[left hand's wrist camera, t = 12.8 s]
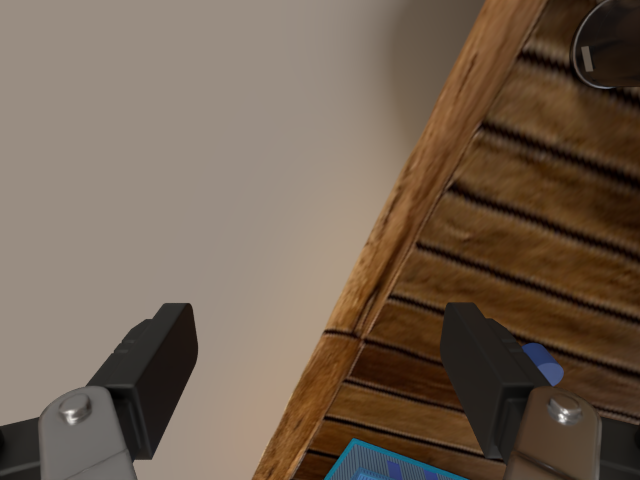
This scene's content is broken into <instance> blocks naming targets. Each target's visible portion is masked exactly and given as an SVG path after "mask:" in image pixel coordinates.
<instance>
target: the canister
mask: <svg viewBox="0 0 640 480" xmlns="http://www.w3.org/2000/svg"><path fill="white" fill-rule="evenodd" d="M522 349H523V350H524V352H526V354H527V355H528V356H529V357H530V359H531V360H532V361H533V362H534V364H535V365H536V366H537V367H538V369H539V370H540V371H541V372H542V374H543V375H544V376H545V377H546V379H547V380H548V381H549V382H550V384H551V385H552V386H554V385H556V384H557V383H559V382H560V380H561V379H562V377H563V369H562V367H561V366H560V365H559V364H558V363H557V361H556V360H555V359H554V358H553V357H552V356H551V355H550V353H549V352H548V351H547V350H546V349H545V348H544V347H543V346H542V345H540V344H538V343H529V344H526V345H524V346H522Z"/></svg>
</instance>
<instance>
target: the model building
mask: <svg viewBox="0 0 640 480" xmlns="http://www.w3.org/2000/svg"><path fill="white" fill-rule="evenodd" d="M324 480H469V479H466V478H463V477H461V476H458V475H455V474H452V473H449V472H447V471H444V470H441V469H438V468H436V467H433V466H430V465H427V464H424V463H422V462H419V461H416V460H413V459H411V458H408V457H405V456H402V455H399V454H397V453H394V452H391V451H388V450H386V449H383V448H380V447H377V446H374V445H372V444H369V443H366V442H363V441H361V440H358V439H355V438H353V439H352V440H351V442H350V443H349V445H348V446H347V447H346V449H345V450H344V452H343V453H342V454H341V456H340V457H339V459H338V460H337V462H336V463H335V464H334V466H333V467H332V469H331V470H330V471H329V473H328V474H327V476H326V477H325V479H324Z"/></svg>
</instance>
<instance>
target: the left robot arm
mask: <svg viewBox="0 0 640 480" xmlns="http://www.w3.org/2000/svg"><path fill="white" fill-rule="evenodd" d="M570 61H571V66H572V69H573V71H574V73H575V75H576V76H577V78H578V79H579V80H580V81H581V82H582V83H584V84H586V85H588V86H590V87H593V88H616V87H640V0H604V1H602V2H601V3H599V4H598V5H596V6H595V7H594V8H593V9H591V10H590V11H589V12H588V13H587V15H586V16H585V17H584V18H583V19H582V21H581V22H580V24H579V26H578V27H577V29H576V31H575V34H574V36H573V39H572V43H571V49H570ZM440 354H441V359H442V363H443V365H444V368H445V370H446V372H447V374H448V376H449V379H450V381H451V383H452V385H453V387H454V390H455V392H456V394H457V396H458V398H459V401H460V403H461V405H462V407H463V409H464V412H465V414H466V416H467V418H468V420H469V423H470V425H471V427H472V429H473V431H474V434H475V436H476V438H477V440H478V442H479V445H480V447H481V449H482V451H483V453H484V456H485V458H503V460H504V462H505V464H506V466H507V467H506V470H505V473H504V476H503V480H640V424H639V425H634V424H630V423H626V422H622V421H617V420H613V419H609V418H605V417H601V416H600V415H599V414H598V412H597V411H596V409H595V408H594V407H593V406H592V405H591V404H590V403H588V402H587V401H586V400H585V399H583V398H581V397H580V396H578V395H576V394H574V393H572V392H570V391H568V390H565V389H562V388H558V387H553V386H552V385H551V384H550V382H549V381H548V380H547V379H546V377H545V376H544V375H543V374H542V372H541V371H540V370H539V369H538V367H537V366H536V365H535V364H534V362H533V361H532V360H531V359H530V357H529V356H528V355H527V354H526V352H524V350H523V349H522V347H521V346H520V345H519V343H516V340H515V338H514V337H513V336H512V335H511V333H510V332H509V331H508V330H507V328H505V327H504V326H502V325H501V324H499V323H498V322H496V321H495V320H493V319H486V318H485V317H484V316H483V314H482V313H481V311H480V310H479V309H478V307H477V306H476V305H475V304H474V303H448V304H447V305H446V308H445V314H444V321H443V328H442V335H441V342H440ZM197 355H198V342H197V335H196V328H195V321H194V315H193V309H192V306H191V304H190V303H165V304H163V305H162V307H161V308H160V309H159V311H158V312H157V313H156V315H155V316H154V317H153V319H146V320H144V321H143V322H141V323H140V324H138V325H137V326H135V327H134V328H132V329H131V330H130V331H129V333H128V334H127V335H126V336H125V338H124V339H123V340H122V343H120V344H119V345H118V346H117V348H116V349H115V350H114V353H112V354H111V355H110V356H109V357H108V359H107V360H106V361H105V362H104V364H103V365H102V366H101V367H100V369H99V370H98V371H97V372H96V374H95V375H94V376H93V377H92V379H91V380H90V381H89V382H88V384H87V385H86V386H85V387H82V388H78V389H75V390H72V391H70V392H68V393H66V394H64V395H62V396H60V397H59V398H57V399H56V400H54V401H53V402H52V403H50V404H49V405H48V406H47V407H46V408H45V409H44V411H43V412H42V414H41V415H40V417H37V418H34V419H29V420H25V421H21V422H17V423H12V424H8V425H4V426H0V480H137V476H136V473H135V470H134V467H133V462H134V460H151V459H152V458H153V455H154V453H155V451H156V449H157V447H158V445H159V442H160V440H161V438H162V436H163V434H164V432H165V429H166V427H167V425H168V423H169V421H170V418H171V416H172V414H173V412H174V410H175V408H176V406H177V403H178V401H179V399H180V397H181V395H182V392H183V390H184V388H185V386H186V384H187V382H188V379H189V377H190V375H191V373H192V371H193V369H194V367H195V364H196V361H197Z"/></svg>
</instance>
